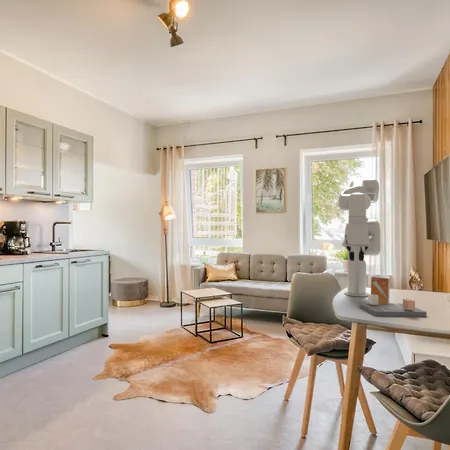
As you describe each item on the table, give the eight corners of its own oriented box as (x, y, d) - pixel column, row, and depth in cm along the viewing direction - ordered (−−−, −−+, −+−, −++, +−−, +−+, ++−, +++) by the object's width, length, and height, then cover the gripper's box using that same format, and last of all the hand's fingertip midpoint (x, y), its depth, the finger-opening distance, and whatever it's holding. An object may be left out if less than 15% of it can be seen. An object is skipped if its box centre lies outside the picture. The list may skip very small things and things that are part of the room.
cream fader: (367, 302, 164) (368, 294, 164) (374, 302, 164) (374, 294, 164) (371, 304, 160) (371, 295, 160) (378, 304, 160) (378, 295, 160)
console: (359, 307, 164) (359, 303, 164) (405, 307, 165) (405, 303, 165) (375, 316, 148) (375, 311, 148) (426, 316, 149) (426, 311, 149)
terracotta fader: (402, 307, 154) (403, 298, 154) (409, 308, 154) (409, 298, 154) (408, 310, 150) (408, 300, 150) (414, 310, 150) (415, 300, 150)
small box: (370, 303, 175) (370, 276, 175) (372, 300, 180) (372, 275, 180) (388, 305, 171) (388, 278, 171) (389, 302, 176) (390, 276, 176)
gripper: (371, 221, 166) (370, 260, 166) (336, 220, 165) (335, 259, 165) (378, 220, 158) (378, 261, 158) (342, 220, 157) (341, 261, 157)
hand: (356, 260), depth 161 cm, fingers open, 3 cm apart
